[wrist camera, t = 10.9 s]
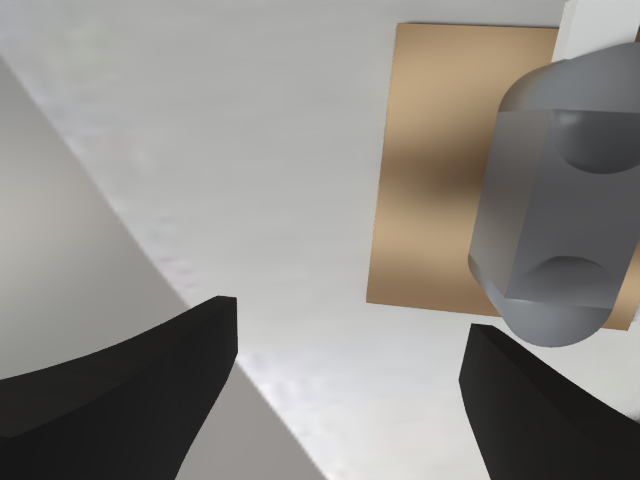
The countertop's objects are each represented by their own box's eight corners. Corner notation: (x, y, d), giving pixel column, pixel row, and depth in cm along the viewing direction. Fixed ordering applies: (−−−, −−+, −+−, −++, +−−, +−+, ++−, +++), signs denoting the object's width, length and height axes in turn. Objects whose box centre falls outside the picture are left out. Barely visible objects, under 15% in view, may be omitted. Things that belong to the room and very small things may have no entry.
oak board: (620, 324, 19) (627, 330, 19) (366, 297, 21) (366, 302, 20) (731, 38, 15) (746, 35, 14) (396, 26, 16) (397, 23, 16)
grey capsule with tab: (538, 294, 19) (596, 352, 14) (461, 287, 19) (493, 341, 14) (617, 20, 15) (738, -28, 10) (517, 17, 15) (587, -31, 10)
